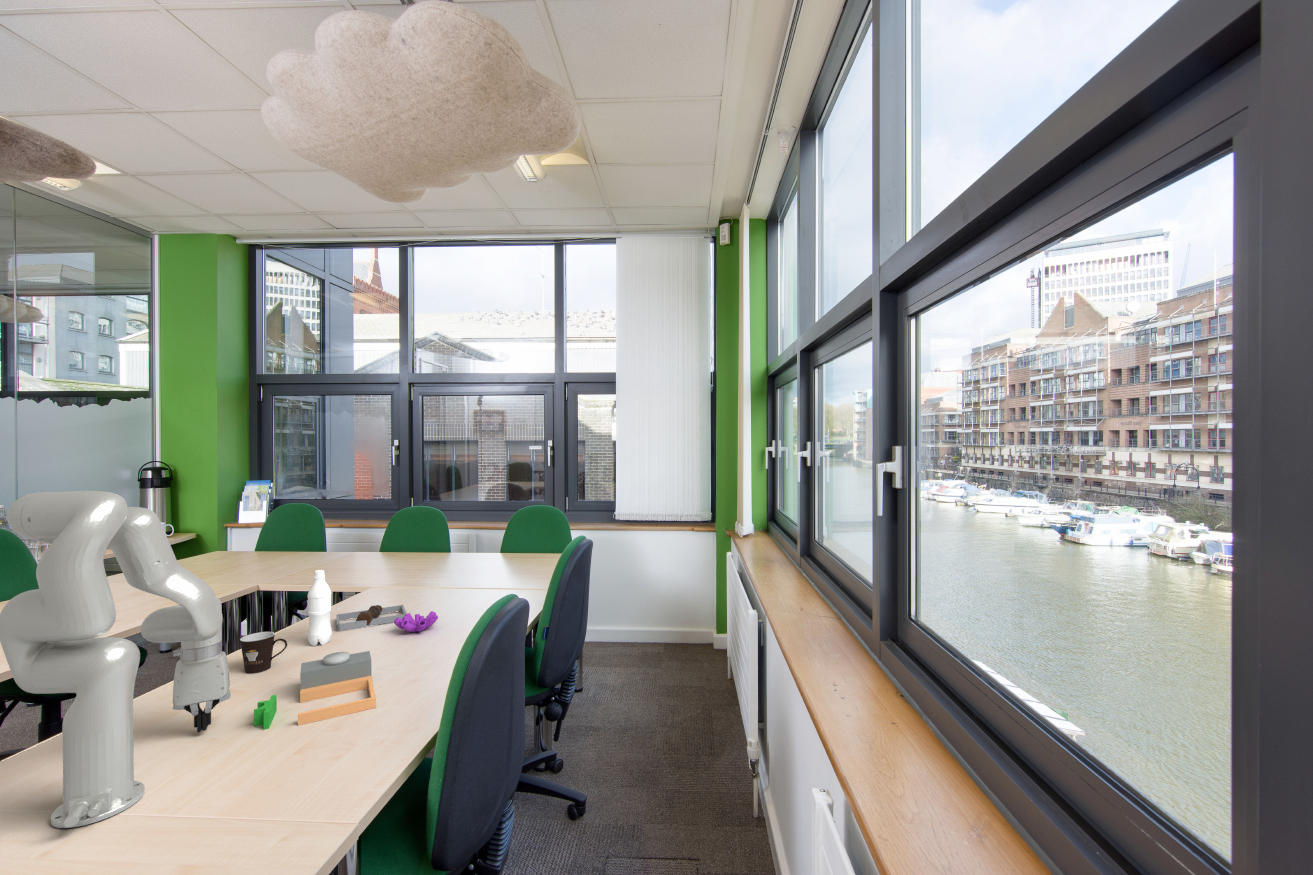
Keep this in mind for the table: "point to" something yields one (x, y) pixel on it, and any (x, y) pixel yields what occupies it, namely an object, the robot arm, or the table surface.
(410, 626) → the purple coral
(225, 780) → the table surface
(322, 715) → the orange and grey frame
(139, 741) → the table surface
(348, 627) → the parts tray
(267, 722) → the pipe clamp
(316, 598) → the water bottle
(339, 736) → the table surface
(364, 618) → the brown lumpy elongated piece
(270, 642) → the coffee mug
